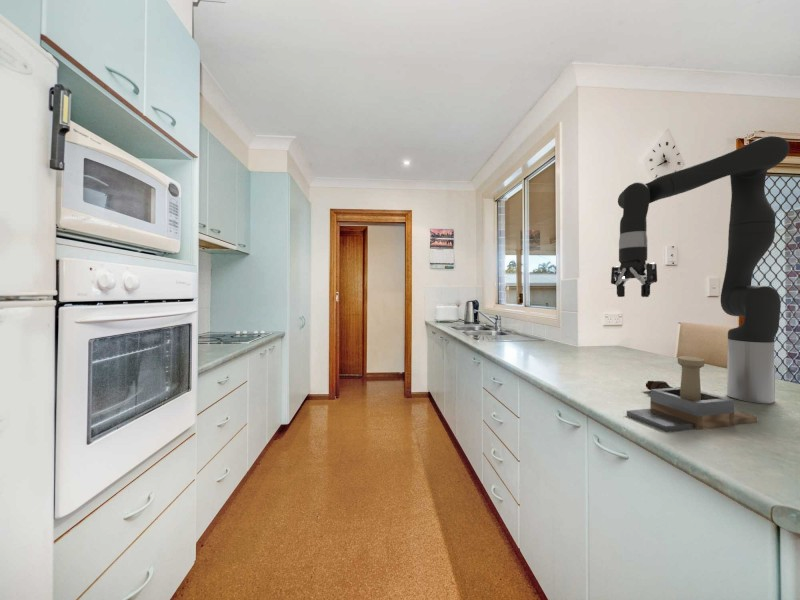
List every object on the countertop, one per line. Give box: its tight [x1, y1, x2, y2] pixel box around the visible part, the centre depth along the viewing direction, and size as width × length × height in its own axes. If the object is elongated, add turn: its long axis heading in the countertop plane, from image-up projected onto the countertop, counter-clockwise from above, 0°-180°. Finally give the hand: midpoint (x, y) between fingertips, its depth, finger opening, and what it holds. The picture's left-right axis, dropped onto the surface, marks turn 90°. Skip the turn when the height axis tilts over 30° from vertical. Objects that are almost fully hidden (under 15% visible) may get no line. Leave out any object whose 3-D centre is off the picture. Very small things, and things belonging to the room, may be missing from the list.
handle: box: [677, 355, 705, 401], centre depth 79 cm, size 5×6×15 cm
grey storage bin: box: [626, 386, 736, 433], centre depth 78 cm, size 19×11×6 cm, turn 101°
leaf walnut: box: [649, 400, 758, 431], centre depth 80 cm, size 19×11×3 cm, turn 101°
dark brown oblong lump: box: [645, 380, 674, 391], centre depth 94 cm, size 6×5×15 cm
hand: (632, 296), depth 104 cm, fingers open, 8 cm apart
